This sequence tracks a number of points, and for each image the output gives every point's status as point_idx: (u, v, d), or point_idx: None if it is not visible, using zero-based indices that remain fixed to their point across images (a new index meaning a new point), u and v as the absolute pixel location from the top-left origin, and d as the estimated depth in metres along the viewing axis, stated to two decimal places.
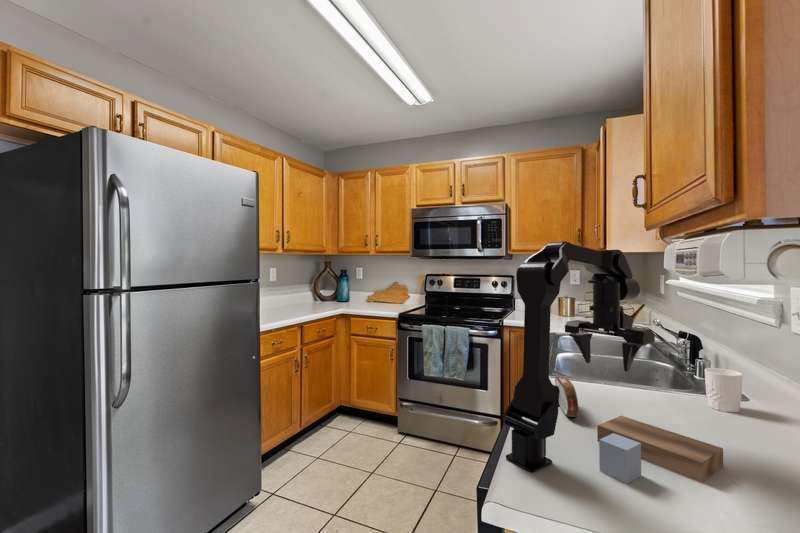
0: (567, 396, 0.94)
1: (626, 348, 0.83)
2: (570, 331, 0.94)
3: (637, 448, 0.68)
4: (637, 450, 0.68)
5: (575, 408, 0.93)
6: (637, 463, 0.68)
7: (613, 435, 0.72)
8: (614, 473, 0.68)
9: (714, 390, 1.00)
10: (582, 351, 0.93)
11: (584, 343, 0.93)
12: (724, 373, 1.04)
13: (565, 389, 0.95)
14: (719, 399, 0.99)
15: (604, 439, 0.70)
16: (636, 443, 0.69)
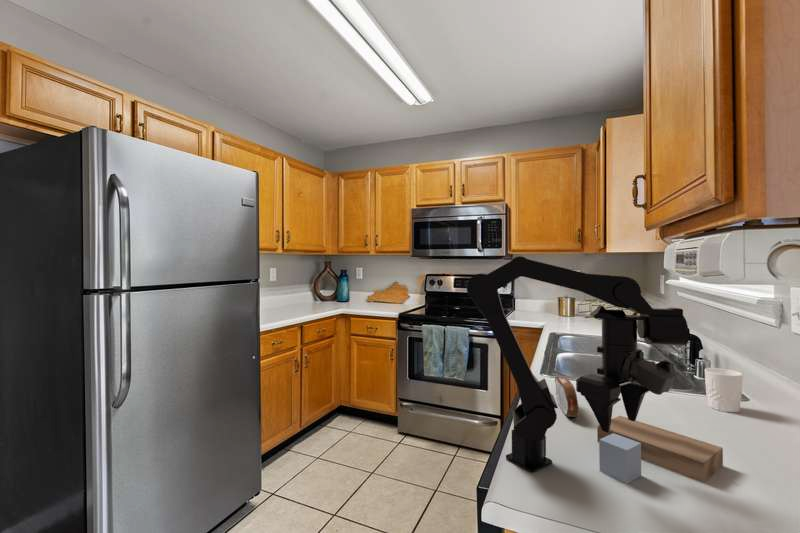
0: (567, 396, 0.94)
1: None
2: None
3: (637, 448, 0.68)
4: (637, 450, 0.68)
5: (575, 408, 0.93)
6: (637, 463, 0.68)
7: (613, 435, 0.72)
8: (614, 473, 0.68)
9: (714, 390, 1.00)
10: None
11: (626, 393, 0.73)
12: (724, 373, 1.04)
13: (565, 389, 0.95)
14: (719, 399, 0.99)
15: (604, 439, 0.70)
16: (636, 443, 0.69)
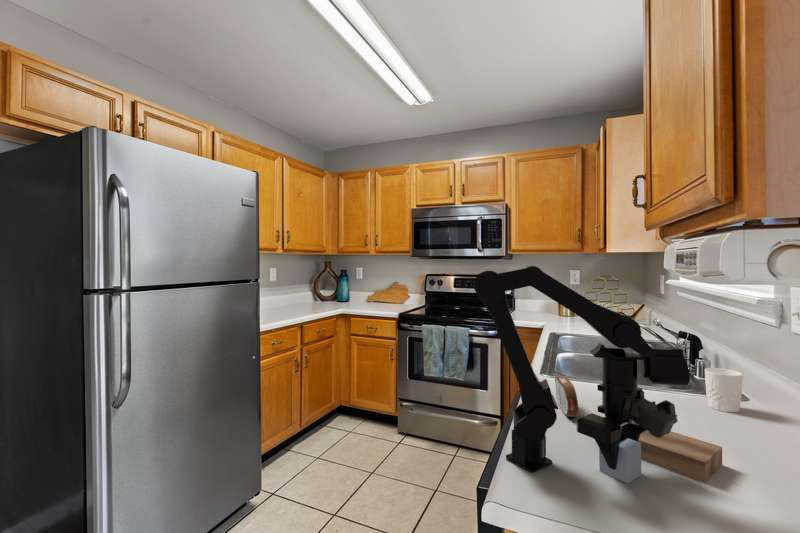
0: (567, 396, 0.94)
1: None
2: None
3: (637, 447, 0.68)
4: (637, 450, 0.68)
5: (575, 408, 0.93)
6: (637, 463, 0.68)
7: None
8: (614, 473, 0.68)
9: (714, 390, 1.00)
10: None
11: (622, 432, 0.72)
12: (724, 373, 1.04)
13: (565, 389, 0.95)
14: (719, 399, 0.99)
15: None
16: (636, 443, 0.69)
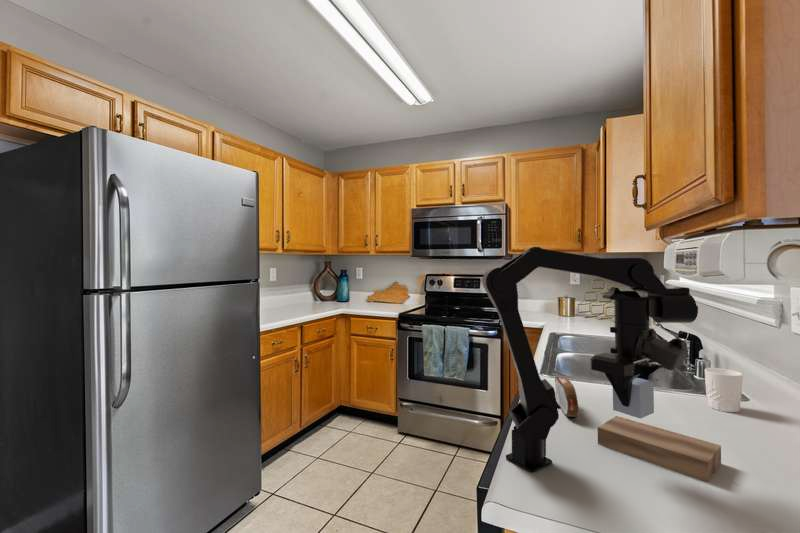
0: (567, 396, 0.94)
1: None
2: None
3: (649, 385, 0.70)
4: (650, 387, 0.70)
5: (575, 408, 0.93)
6: (650, 400, 0.70)
7: None
8: (627, 410, 0.70)
9: (714, 390, 1.00)
10: None
11: None
12: (724, 373, 1.04)
13: (565, 389, 0.95)
14: (719, 399, 0.99)
15: None
16: (649, 381, 0.71)
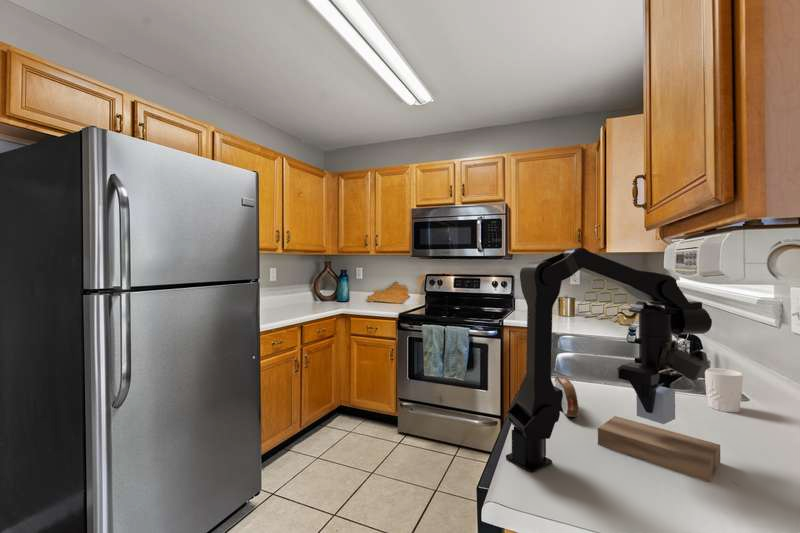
0: (567, 396, 0.94)
1: None
2: None
3: (672, 393, 0.76)
4: (672, 395, 0.76)
5: (575, 408, 0.93)
6: (672, 407, 0.76)
7: None
8: (651, 416, 0.75)
9: (714, 390, 1.00)
10: None
11: None
12: (724, 373, 1.04)
13: (565, 389, 0.95)
14: (719, 399, 0.99)
15: None
16: (670, 389, 0.76)
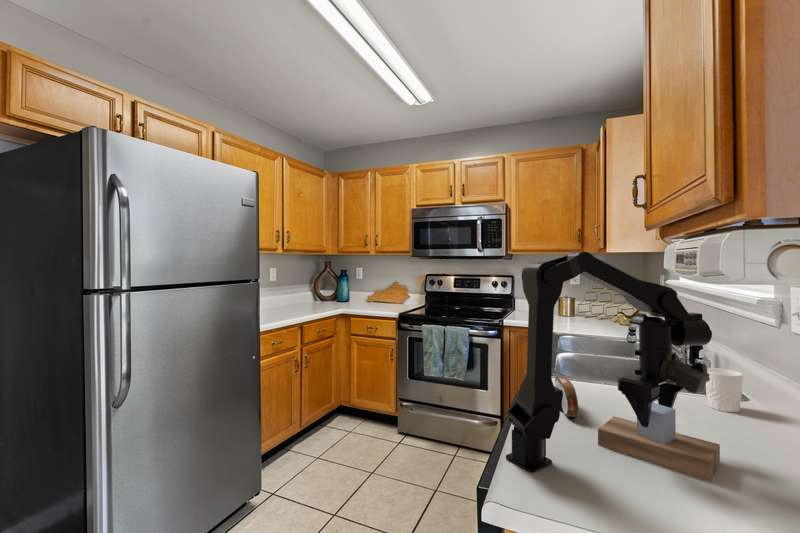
0: (567, 396, 0.94)
1: None
2: None
3: (672, 413, 0.75)
4: (672, 415, 0.75)
5: (575, 408, 0.93)
6: (672, 427, 0.75)
7: None
8: (651, 435, 0.75)
9: (714, 390, 1.00)
10: None
11: (660, 392, 0.81)
12: (724, 373, 1.04)
13: (565, 389, 0.95)
14: (719, 399, 0.99)
15: None
16: (671, 409, 0.76)
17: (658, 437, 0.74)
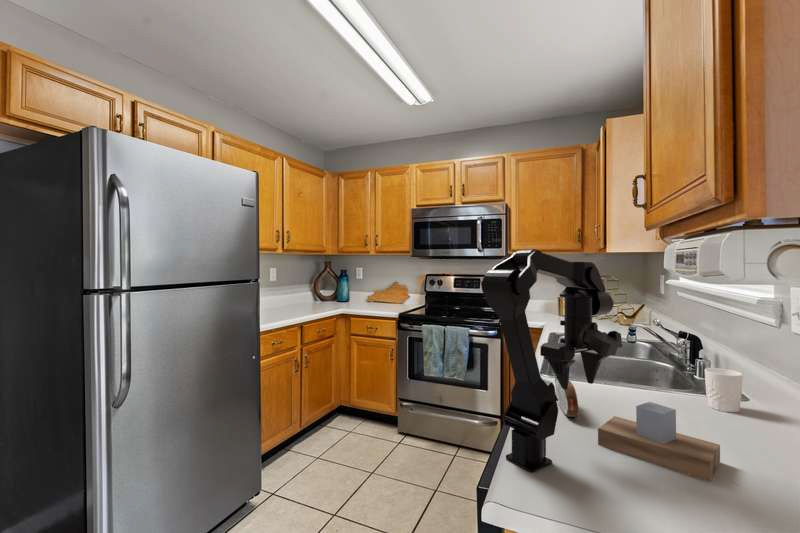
0: (567, 396, 0.94)
1: None
2: None
3: (672, 413, 0.75)
4: (672, 415, 0.75)
5: (575, 408, 0.93)
6: (672, 427, 0.75)
7: (649, 403, 0.79)
8: (650, 435, 0.75)
9: (714, 390, 1.00)
10: None
11: (586, 360, 0.87)
12: (724, 373, 1.04)
13: None
14: (719, 399, 0.99)
15: (641, 406, 0.78)
16: (671, 409, 0.76)
17: (657, 437, 0.74)
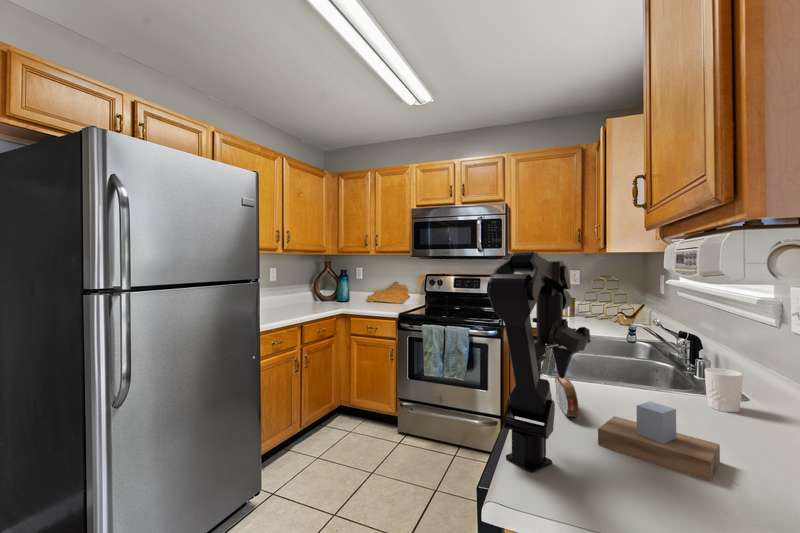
0: (567, 396, 0.94)
1: None
2: None
3: (672, 412, 0.75)
4: (672, 414, 0.75)
5: (575, 408, 0.93)
6: (672, 426, 0.75)
7: (649, 402, 0.79)
8: (650, 435, 0.76)
9: (714, 390, 1.00)
10: None
11: (558, 356, 0.91)
12: (724, 373, 1.04)
13: (565, 389, 0.95)
14: (719, 399, 0.99)
15: (641, 405, 0.78)
16: (671, 408, 0.76)
17: (657, 436, 0.74)
